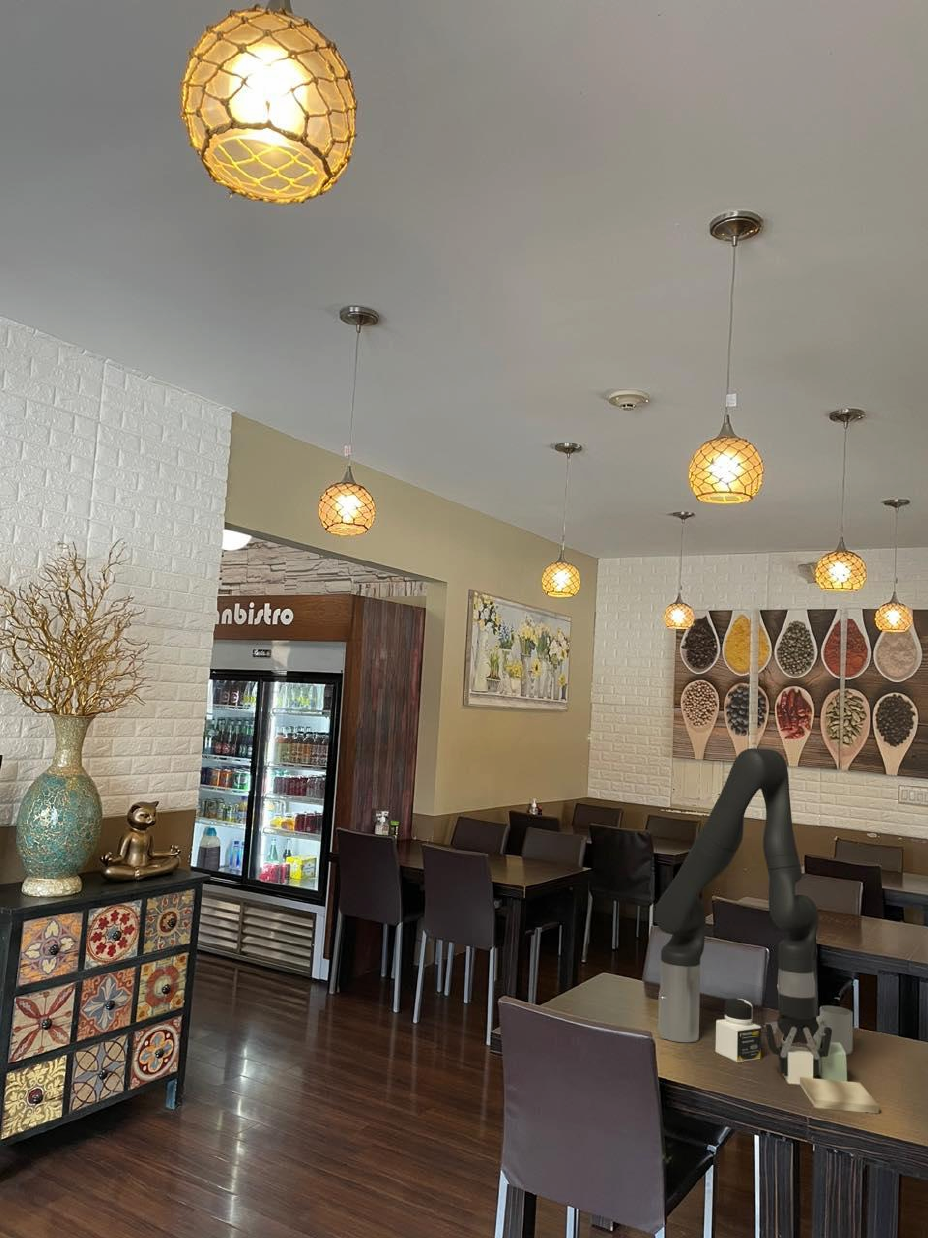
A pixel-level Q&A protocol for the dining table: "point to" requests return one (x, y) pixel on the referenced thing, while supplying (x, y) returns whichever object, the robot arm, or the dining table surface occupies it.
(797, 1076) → the cream block
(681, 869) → the robot arm
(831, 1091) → the beech board
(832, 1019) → the cup
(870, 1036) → the dining table surface
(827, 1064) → the sage block
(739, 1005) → the medicine bottle
